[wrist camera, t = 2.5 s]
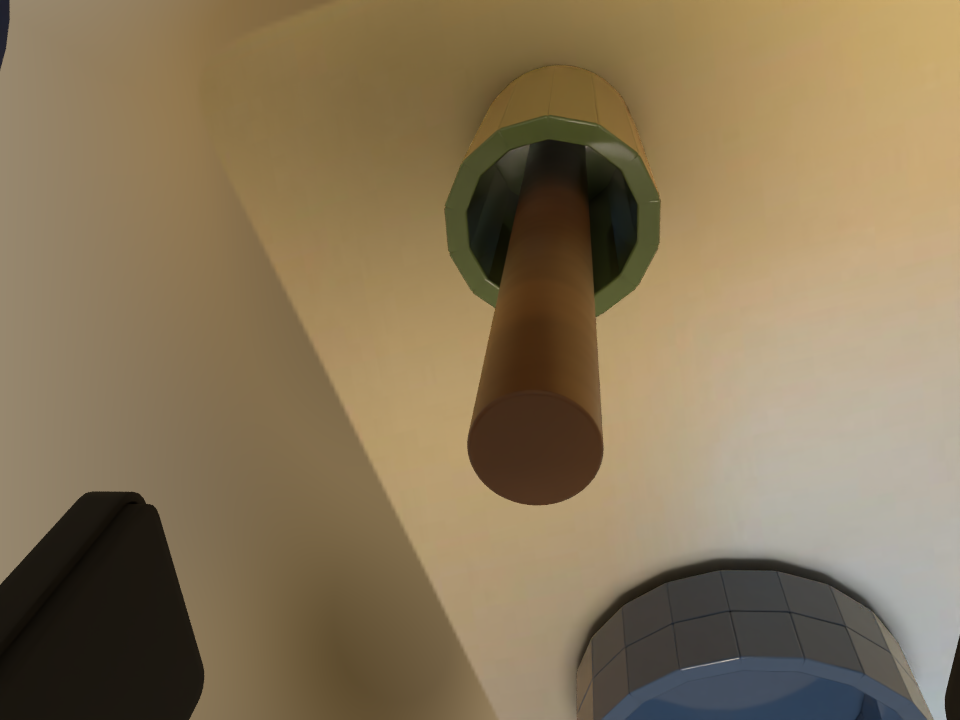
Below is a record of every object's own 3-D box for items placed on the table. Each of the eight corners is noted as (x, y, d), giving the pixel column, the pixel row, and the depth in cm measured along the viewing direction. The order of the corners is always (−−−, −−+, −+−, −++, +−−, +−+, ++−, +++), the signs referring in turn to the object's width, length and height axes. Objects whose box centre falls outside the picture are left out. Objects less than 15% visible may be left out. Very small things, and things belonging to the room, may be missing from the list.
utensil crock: (487, 222, 32) (454, 328, 23) (476, 67, 30) (436, 121, 21) (633, 216, 32) (657, 324, 23) (635, 57, 29) (663, 109, 20)
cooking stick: (530, 177, 31) (472, 506, 13) (528, 122, 30) (461, 392, 12) (585, 175, 30) (604, 507, 12) (584, 119, 29) (603, 390, 12)
